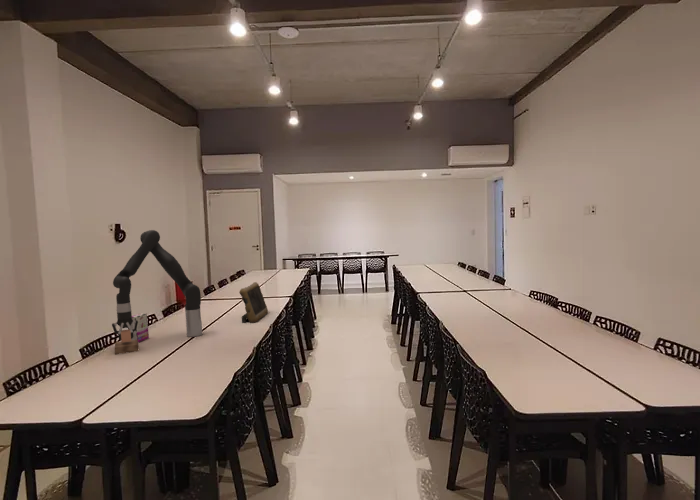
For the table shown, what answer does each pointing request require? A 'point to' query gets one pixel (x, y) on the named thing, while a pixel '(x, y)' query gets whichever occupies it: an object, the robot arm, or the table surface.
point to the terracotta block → (125, 335)
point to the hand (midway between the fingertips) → (126, 339)
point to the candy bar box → (140, 327)
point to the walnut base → (126, 346)
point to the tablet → (253, 303)
